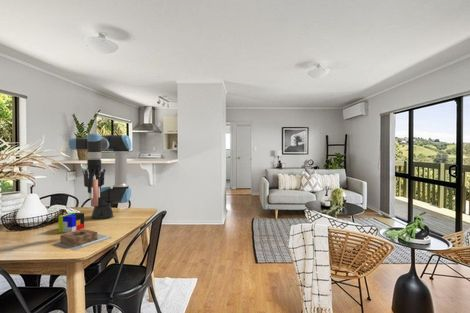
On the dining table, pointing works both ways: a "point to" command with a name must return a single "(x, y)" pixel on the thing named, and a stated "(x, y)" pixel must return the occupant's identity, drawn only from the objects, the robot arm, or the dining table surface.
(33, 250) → the dining table surface
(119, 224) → the dining table surface
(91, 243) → the mat
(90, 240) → the brown wooden square block
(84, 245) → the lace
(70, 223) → the puzzle toy
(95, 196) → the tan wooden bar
